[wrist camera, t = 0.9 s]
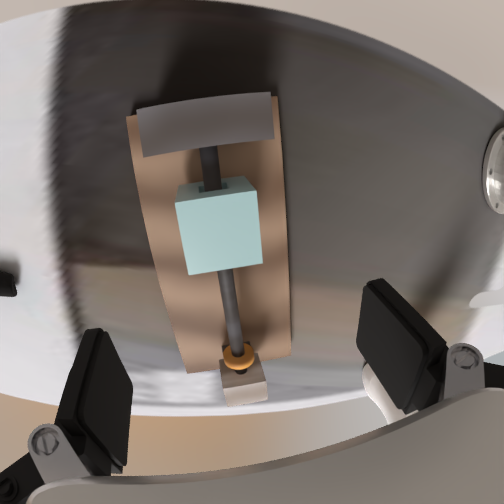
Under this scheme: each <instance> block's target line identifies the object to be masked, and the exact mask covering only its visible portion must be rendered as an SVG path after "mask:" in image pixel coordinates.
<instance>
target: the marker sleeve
mask: <svg viewBox="0 0 504 504" xmlns="http://www.w3.org/2000/svg"><path fill="white" fill-rule="evenodd" d="M221 182H222V190H215V191H208V192H205V189H204V182H203V181H202V182H196V183H189V184H183V185H179V186H178V190H177V194H176V199H175V208H176V213H177V219H178V224H179V230H180V235H181V240H182V245H183V250H184V255H185V260H186V265H187V269H188V274H189V275H194V274H200V273H206V272H213V271H219V270H225V269H231V268H237V267H243V266H249V265H255V264H261V263H263V259H262V247H261V236H260V224H259V213H258V202H257V191H256V189H255V188H254V187H253V186H252V185H251V183H250V182H249V181H248V180H247V179H246V177H245V176H237V177H230V178H222V179H221Z"/></svg>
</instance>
